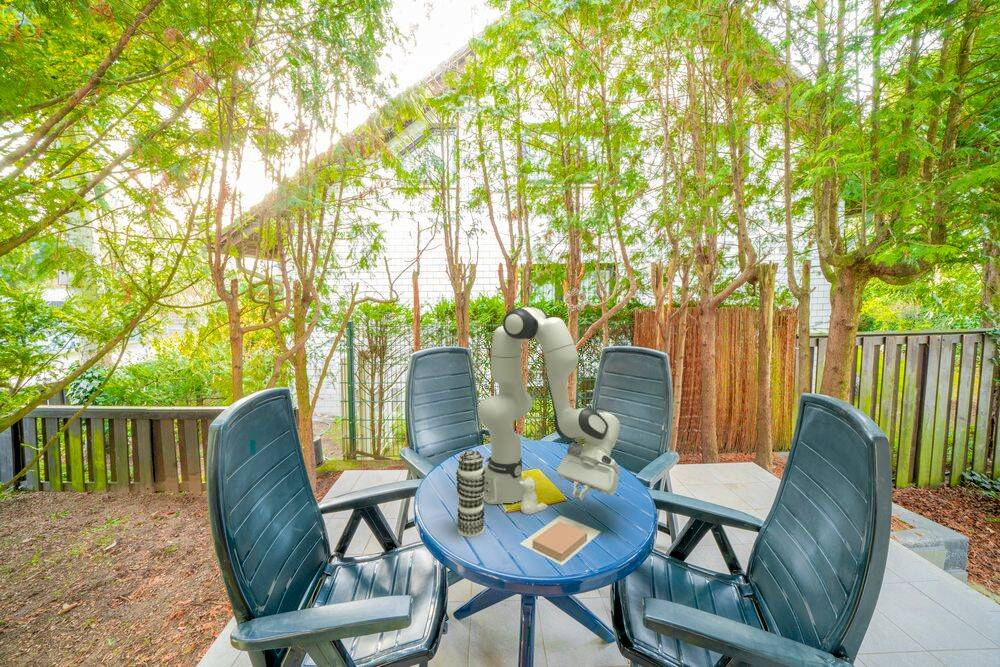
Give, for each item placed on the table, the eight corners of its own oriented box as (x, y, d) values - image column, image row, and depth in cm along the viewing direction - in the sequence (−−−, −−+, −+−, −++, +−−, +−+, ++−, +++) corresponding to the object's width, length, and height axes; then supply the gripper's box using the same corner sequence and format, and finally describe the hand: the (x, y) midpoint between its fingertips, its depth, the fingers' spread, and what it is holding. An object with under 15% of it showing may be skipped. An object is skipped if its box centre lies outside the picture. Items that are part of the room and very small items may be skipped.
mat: (519, 545, 120) (519, 543, 120) (560, 517, 137) (560, 515, 136) (562, 567, 110) (562, 565, 110) (601, 533, 127) (601, 531, 127)
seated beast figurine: (548, 509, 142) (548, 475, 141) (537, 520, 134) (537, 485, 134) (524, 502, 147) (524, 470, 146) (512, 513, 139) (512, 479, 138)
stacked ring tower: (470, 518, 135) (470, 445, 134) (491, 528, 129) (491, 452, 128) (450, 530, 128) (449, 453, 127) (471, 541, 122) (471, 460, 121)
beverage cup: (568, 474, 171) (569, 427, 170) (586, 477, 168) (586, 429, 167) (565, 481, 164) (565, 433, 163) (583, 484, 162) (583, 435, 160)
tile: (559, 527, 129) (532, 547, 118) (559, 521, 129) (532, 540, 118) (587, 540, 122) (561, 561, 112) (587, 532, 122) (561, 553, 112)
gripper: (563, 446, 139) (546, 482, 132) (619, 462, 125) (603, 504, 118) (570, 455, 142) (553, 491, 136) (625, 472, 128) (609, 513, 122)
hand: (577, 497), depth 127 cm, fingers closed
